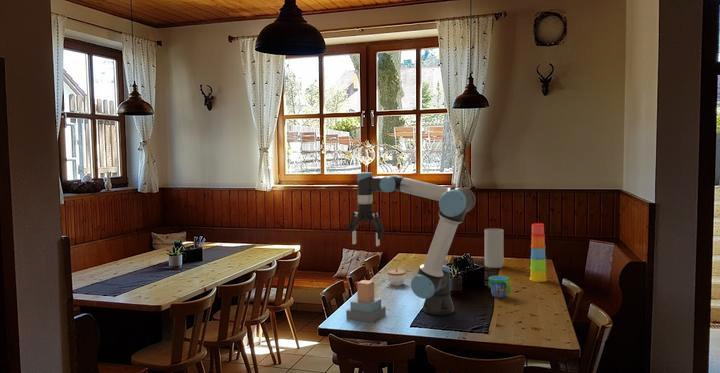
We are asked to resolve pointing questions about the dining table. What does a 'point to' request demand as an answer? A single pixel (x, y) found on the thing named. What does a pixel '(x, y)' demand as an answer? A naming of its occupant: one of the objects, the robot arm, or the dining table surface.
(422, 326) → the dining table surface
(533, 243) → the stacking cups
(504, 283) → the snack cup
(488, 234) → the cylinder vase
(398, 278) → the lidded jar
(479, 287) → the dining table surface
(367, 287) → the terracotta brick
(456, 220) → the robot arm
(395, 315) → the dining table surface
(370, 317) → the grey stepped block
